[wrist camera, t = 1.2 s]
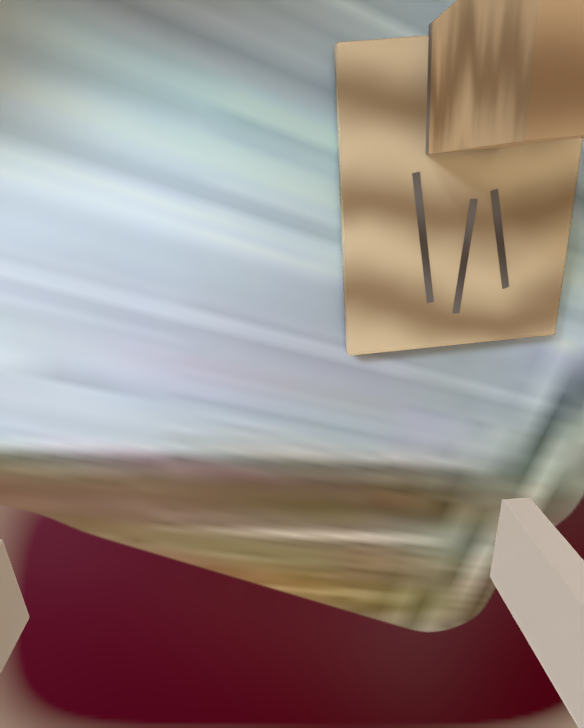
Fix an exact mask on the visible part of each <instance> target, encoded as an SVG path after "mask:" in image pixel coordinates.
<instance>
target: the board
mask: <svg viewBox="0 0 584 728" xmlns="http://www.w3.org/2000/svg"><path fill="white" fill-rule="evenodd" d="M428 40H429V35H427V36H414V37H401V38H389V39H376V40H363V41H350V42H337V44H336V46H335V47H334V54H335V79H336V104H337V129H338V155H339V180H340V205H341V231H342V256H343V281H344V307H345V332H346V351H347V353H348V355H349V356H351V355H361V354H371V353H380V352H390V351H400V350H410V349H419V348H429V347H439V346H449V345H458V344H468V343H478V342H488V341H497V340H507V339H517V338H526V337H536V336H546V335H555V330H556V323H557V316H558V309H559V302H560V295H561V288H562V281H563V274H564V267H565V260H566V253H567V246H568V239H569V231H570V224H571V217H572V210H573V203H574V196H575V189H576V182H577V175H578V168H579V161H580V154H581V147H582V140H583V138H576V139H568V140H560V141H552V142H544V143H535V144H527V145H519V146H511V147H503V148H493V149H481V150H470V151H458V152H447V153H436V154H426V118H427V79H428Z"/></svg>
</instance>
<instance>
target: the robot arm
mask: <svg viewBox="0 0 584 728" xmlns="http://www.w3.org/2000/svg"><path fill="white" fill-rule="evenodd" d="M490 578H491V580H492V581H493V583H494V585H495V586H496V588H497V590H498V591H499V593H500V595H501V597H502V598H503V600H504V602H505V604H506V605H507V607H508V609H509V610H510V612H511V614H512V616H513V617H514V619H515V621H516V622H517V624H518V626H519V627H520V629H521V631H522V632H523V634H524V636H525V638H526V639H527V641H528V643H529V644H530V646H531V648H532V649H533V651H534V653H535V655H536V656H537V658H538V660H539V662H540V663H541V665H542V667H543V668H544V670H545V672H546V674H547V675H548V677H549V679H550V680H551V682H552V684H553V685H554V687H555V689H556V691H557V692H558V694H559V696H560V697H561V699H562V700H563V703H564V704H565V706H566V708H567V709H568V711H569V713H570V715H571V716H572V718H573V720H574V721H575V723H576V725H577V726H578V728H584V560H583V559H582V558H581V557H580V556H579V555H578V554H577V552H576V551H575V550H574V549H573V548H572V546H571V545H570V544H569V543H568V542H567V541H566V539H565V538H564V537H563V536H562V535H561V534H560V533H559V531H558V530H557V529H556V528H555V527H554V525H553V524H552V523H551V522H550V521H549V520H548V518H547V517H546V516H545V515H544V514H543V513H542V511H541V510H540V509H539V508H538V507H537V506H536V504H535V503H534V502H533V501H532V500H531V499H530V497H529V498H517V499H504V500H502V503H501V510H500V516H499V522H498V528H497V534H496V541H495V547H494V553H493V559H492V565H491V571H490ZM28 619H29V614H28V612H27V609H26V606H25V603H24V600H23V597H22V594H21V592H20V589H19V586H18V583H17V580H16V577H15V575H14V571H13V569H12V566H11V563H10V560H9V557H8V554H7V551H6V549H5V546H4V543H3V540H0V673H1V671H2V669H3V667H4V665H5V663H6V662H7V660H8V658H9V656H10V654H11V652H12V650H13V648H14V646H15V644H16V642H17V640H18V638H19V636H20V635H21V633H22V631H23V628H24V627H25V625H26V623H27V621H28Z"/></svg>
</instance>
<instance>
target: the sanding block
mask: <svg viewBox="0 0 584 728" xmlns="http://www.w3.org/2000/svg"><path fill="white" fill-rule="evenodd" d="M576 138H584V0H457V1H456V2H455V3H454V4H452V5H451V6H450V7H449V8H448V9H447V10H446V11H445V12H443V13H442V14H441V15H440V16H439V17H438V18H437V19H435V20H434V21H433V22H432V23H431V24H430V25H429V40H428V79H427V118H426V154H436V153H447V152H458V151H470V150H481V149H493V148H503V147H511V146H519V145H527V144H535V143H544V142H552V141H560V140H568V139H576Z"/></svg>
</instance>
